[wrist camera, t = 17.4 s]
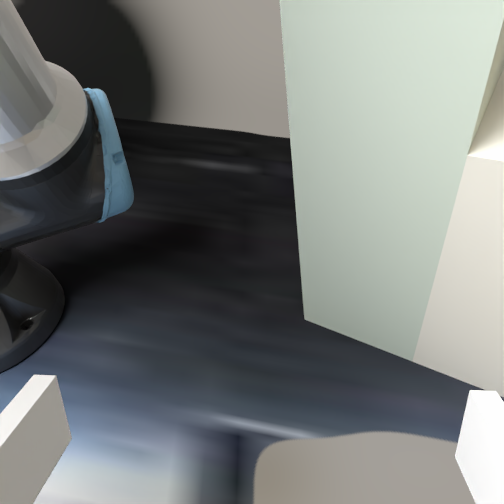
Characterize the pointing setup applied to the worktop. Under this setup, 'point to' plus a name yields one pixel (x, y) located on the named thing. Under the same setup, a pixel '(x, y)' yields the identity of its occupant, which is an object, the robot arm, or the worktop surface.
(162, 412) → the worktop surface
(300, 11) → the tall pale green block
